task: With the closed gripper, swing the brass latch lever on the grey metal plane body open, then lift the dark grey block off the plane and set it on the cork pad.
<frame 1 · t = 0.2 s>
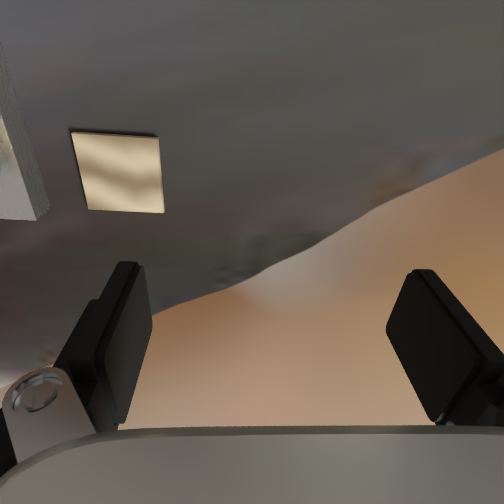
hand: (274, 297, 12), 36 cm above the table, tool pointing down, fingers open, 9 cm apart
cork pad: (122, 174, 46), on the table
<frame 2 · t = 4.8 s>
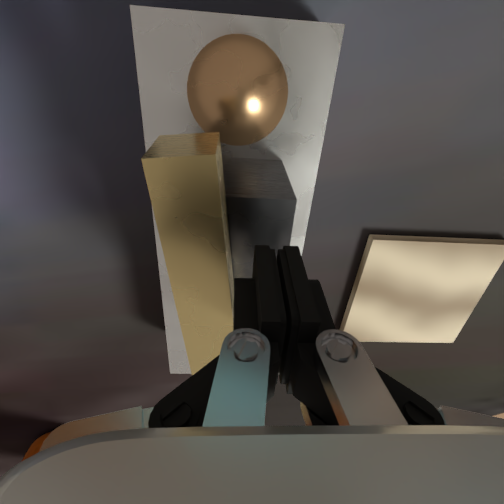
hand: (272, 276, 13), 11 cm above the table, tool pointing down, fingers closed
plane body: (231, 222, 23), on the table
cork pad: (413, 291, 28), on the table
dark grey block: (232, 209, 18), point 4 cm above the table, touching plane body
latch lever: (212, 323, 14), point 11 cm above the table, hinge at 6.5°, touching gripper
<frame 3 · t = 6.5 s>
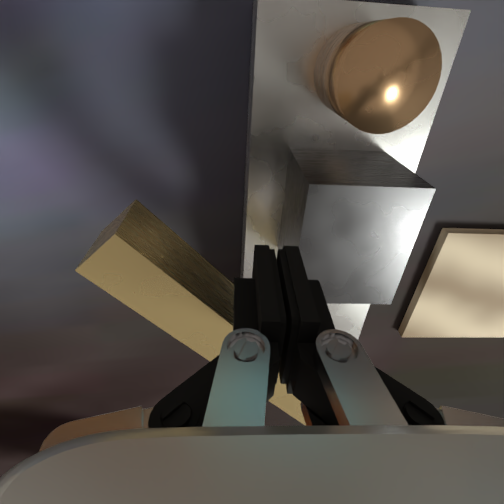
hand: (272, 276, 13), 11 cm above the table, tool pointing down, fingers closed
plane body: (305, 218, 23), on the table
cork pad: (479, 285, 28), on the table
dark grey block: (327, 203, 18), point 4 cm above the table, touching plane body
latch lever: (251, 343, 14), point 11 cm above the table, hinge at 43.2°, touching gripper
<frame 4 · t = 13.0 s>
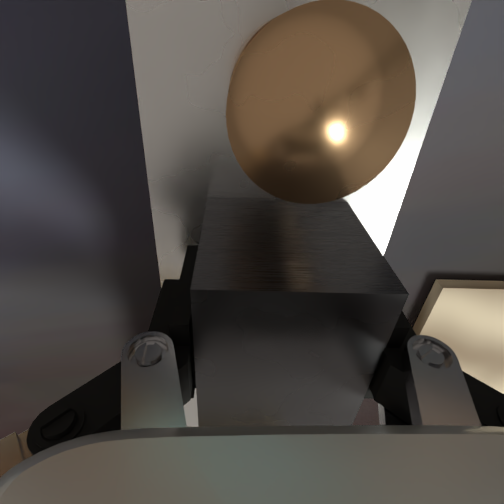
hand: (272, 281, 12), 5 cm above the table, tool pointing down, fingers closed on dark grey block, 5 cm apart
plane body: (259, 267, 18), on the table
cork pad: (482, 343, 22), on the table
dark grey block: (270, 267, 13), point 4 cm above the table, touching gripper, plane body
when the fingers open (3 cm above the table, at t = 19.7 s): dark grey block drops 1 cm, resting on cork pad.
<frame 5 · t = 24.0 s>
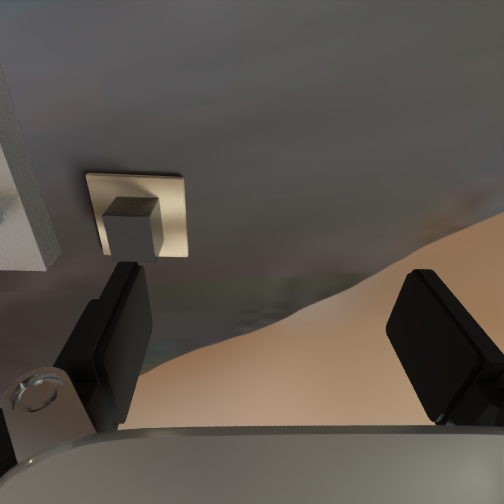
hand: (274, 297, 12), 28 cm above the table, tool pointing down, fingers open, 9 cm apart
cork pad: (142, 216, 41), on the table
dark grey block: (141, 219, 40), point 1 cm above the table, touching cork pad
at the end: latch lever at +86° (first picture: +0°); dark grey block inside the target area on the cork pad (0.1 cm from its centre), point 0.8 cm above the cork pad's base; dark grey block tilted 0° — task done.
